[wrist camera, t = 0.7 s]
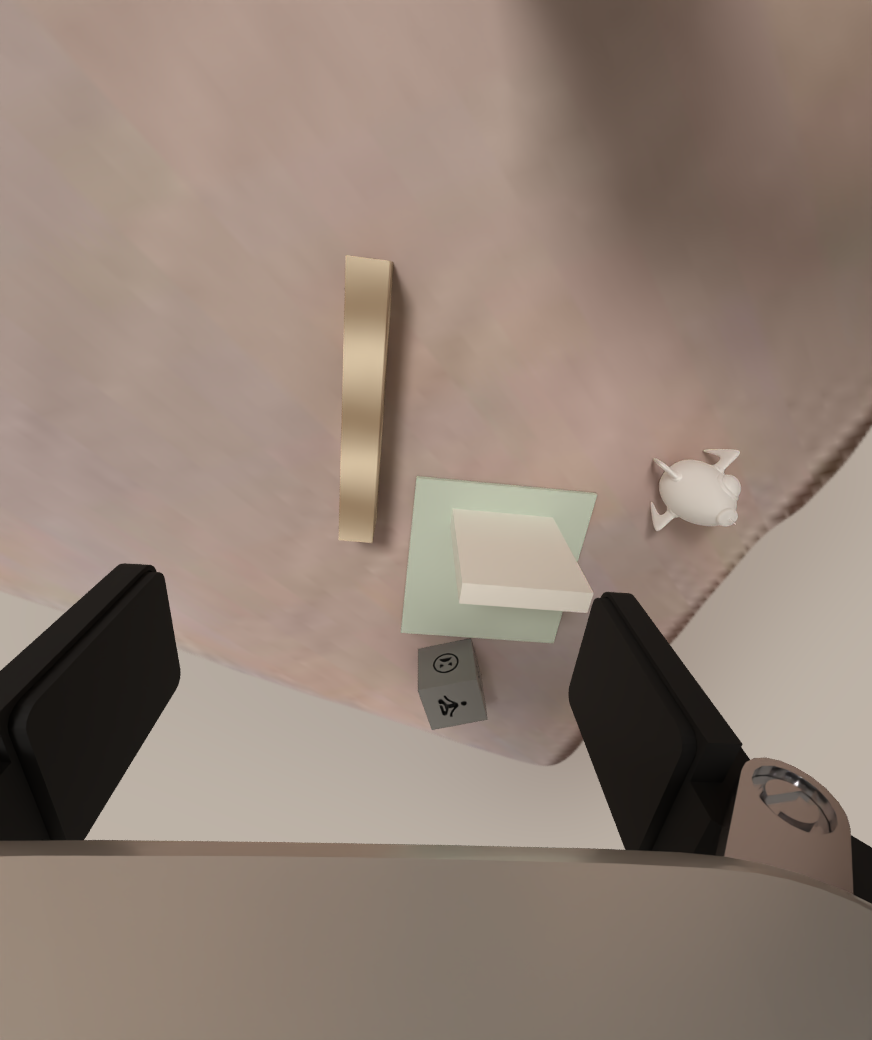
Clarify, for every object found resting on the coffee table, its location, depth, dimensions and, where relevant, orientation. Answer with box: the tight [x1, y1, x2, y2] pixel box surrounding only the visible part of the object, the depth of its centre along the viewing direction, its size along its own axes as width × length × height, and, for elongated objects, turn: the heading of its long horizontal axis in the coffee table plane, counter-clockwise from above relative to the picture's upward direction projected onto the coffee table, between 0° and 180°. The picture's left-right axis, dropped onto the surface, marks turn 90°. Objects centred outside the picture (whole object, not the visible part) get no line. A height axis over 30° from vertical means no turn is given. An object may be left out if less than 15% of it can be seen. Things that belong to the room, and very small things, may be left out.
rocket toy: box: [651, 449, 741, 531], centre depth 33 cm, size 5×5×8 cm
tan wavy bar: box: [339, 255, 393, 543], centre depth 32 cm, size 18×2×4 cm, turn 173°
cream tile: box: [450, 508, 594, 613], centre depth 33 cm, size 2×8×10 cm, turn 84°
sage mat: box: [401, 476, 597, 643], centre depth 40 cm, size 15×14×1 cm
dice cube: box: [418, 638, 488, 730], centre depth 43 cm, size 5×5×5 cm
